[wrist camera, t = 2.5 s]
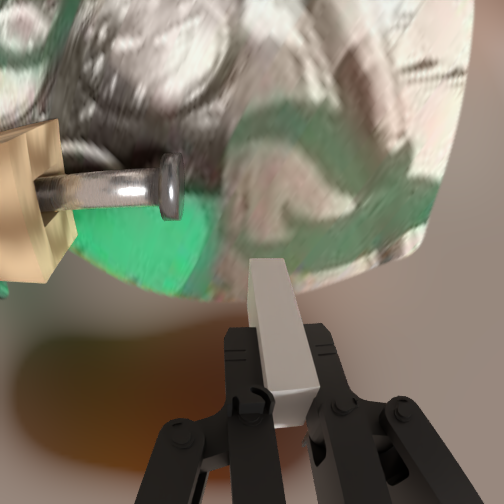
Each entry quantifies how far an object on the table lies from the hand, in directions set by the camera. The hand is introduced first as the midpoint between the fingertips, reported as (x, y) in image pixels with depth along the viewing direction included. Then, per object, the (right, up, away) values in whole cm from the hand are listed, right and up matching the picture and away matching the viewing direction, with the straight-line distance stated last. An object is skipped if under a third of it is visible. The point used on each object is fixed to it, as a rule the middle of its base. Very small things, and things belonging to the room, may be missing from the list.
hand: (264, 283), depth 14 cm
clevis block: (-23, +8, +10) cm, 27 cm away
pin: (-13, +8, +11) cm, 19 cm away
